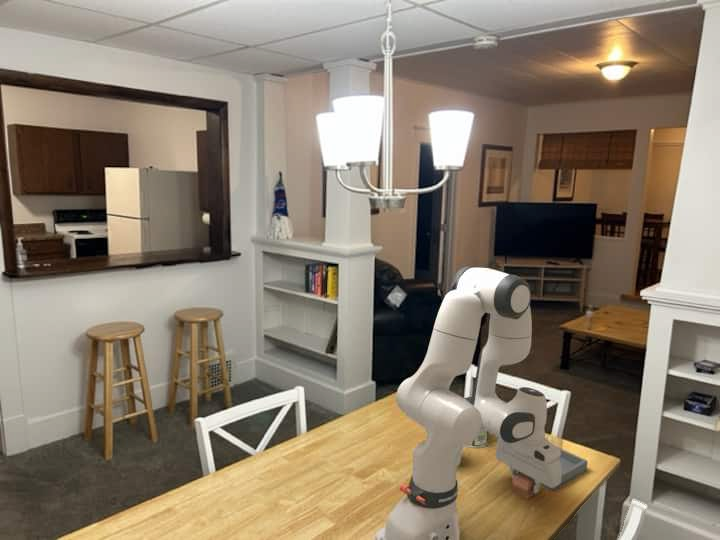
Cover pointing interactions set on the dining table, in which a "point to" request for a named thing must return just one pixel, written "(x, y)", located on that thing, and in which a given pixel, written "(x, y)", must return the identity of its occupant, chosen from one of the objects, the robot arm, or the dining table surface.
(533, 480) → the block
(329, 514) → the dining table surface
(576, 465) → the tray
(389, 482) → the dining table surface
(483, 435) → the coffee can
